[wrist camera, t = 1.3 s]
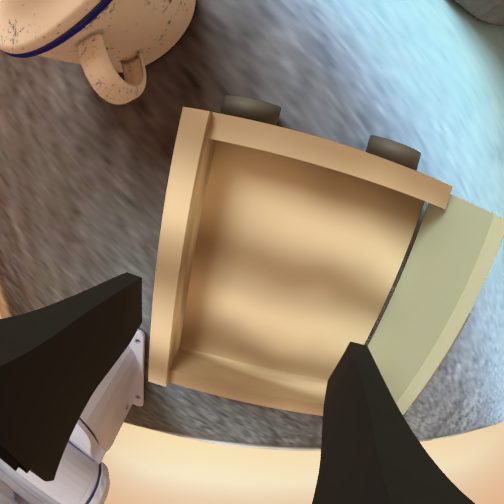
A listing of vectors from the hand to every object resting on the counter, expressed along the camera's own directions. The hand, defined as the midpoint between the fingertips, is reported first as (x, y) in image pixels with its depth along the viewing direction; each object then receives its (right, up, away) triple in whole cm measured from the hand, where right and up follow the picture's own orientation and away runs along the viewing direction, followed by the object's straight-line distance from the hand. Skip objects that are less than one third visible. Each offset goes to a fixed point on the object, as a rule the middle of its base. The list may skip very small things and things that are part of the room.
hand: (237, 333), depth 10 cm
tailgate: (+9, -1, +8) cm, 12 cm away
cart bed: (+2, +2, +10) cm, 10 cm away
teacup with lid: (-7, +17, +5) cm, 19 cm away
